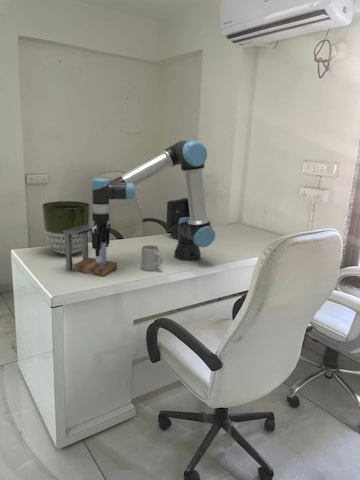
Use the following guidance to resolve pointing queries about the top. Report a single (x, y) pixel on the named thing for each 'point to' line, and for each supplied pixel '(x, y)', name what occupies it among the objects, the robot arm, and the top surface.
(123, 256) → the top surface
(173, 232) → the watch box
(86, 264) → the socket block
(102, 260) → the peg
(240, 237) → the top surface
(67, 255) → the grey arch frame
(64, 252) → the planter
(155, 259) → the mug
